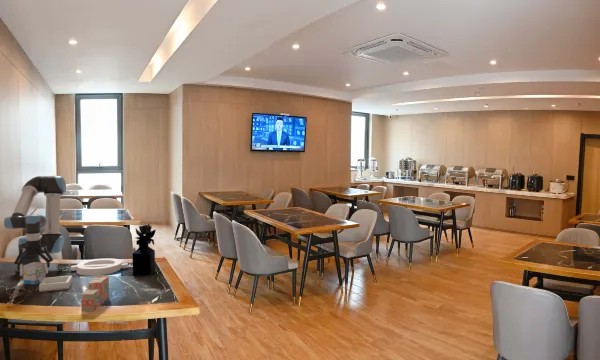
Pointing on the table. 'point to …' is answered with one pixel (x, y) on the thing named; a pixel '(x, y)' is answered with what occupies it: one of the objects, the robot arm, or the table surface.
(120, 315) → the table surface
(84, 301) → the stack of blocks
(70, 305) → the table surface
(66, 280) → the box
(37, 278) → the ink box
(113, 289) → the table surface
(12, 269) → the table surface
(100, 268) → the ring with crossbar
